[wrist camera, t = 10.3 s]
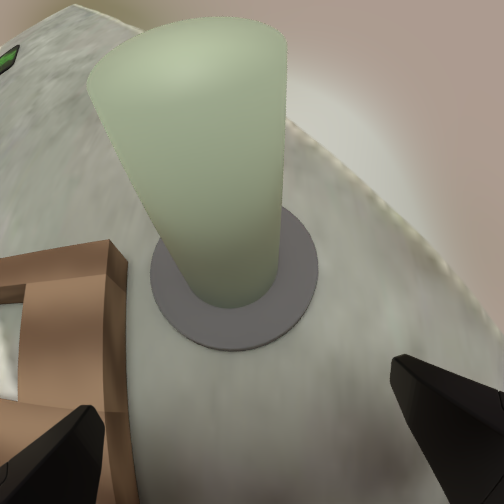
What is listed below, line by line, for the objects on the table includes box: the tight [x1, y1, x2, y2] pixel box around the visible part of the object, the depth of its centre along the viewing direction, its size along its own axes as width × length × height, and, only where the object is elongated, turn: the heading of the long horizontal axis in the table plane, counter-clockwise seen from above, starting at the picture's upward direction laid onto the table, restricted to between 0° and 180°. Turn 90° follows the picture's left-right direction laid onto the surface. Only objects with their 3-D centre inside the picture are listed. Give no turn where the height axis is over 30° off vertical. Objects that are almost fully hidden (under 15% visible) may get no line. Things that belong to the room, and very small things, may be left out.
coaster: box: [150, 207, 318, 351], centre depth 19 cm, size 10×10×1 cm
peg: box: [86, 17, 287, 309], centre depth 13 cm, size 6×6×13 cm
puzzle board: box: [0, 239, 140, 504], centre depth 14 cm, size 20×16×3 cm
